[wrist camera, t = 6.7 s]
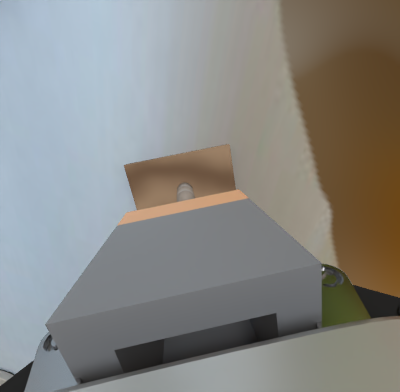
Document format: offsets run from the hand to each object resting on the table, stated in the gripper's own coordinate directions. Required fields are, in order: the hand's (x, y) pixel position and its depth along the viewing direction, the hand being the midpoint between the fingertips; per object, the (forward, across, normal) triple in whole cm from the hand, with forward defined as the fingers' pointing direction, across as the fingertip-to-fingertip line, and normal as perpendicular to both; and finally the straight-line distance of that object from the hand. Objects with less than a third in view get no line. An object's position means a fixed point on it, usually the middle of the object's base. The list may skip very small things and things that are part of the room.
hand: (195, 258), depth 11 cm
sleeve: (+1, 0, 0) cm, 1 cm away
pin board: (+17, 0, +6) cm, 18 cm away
